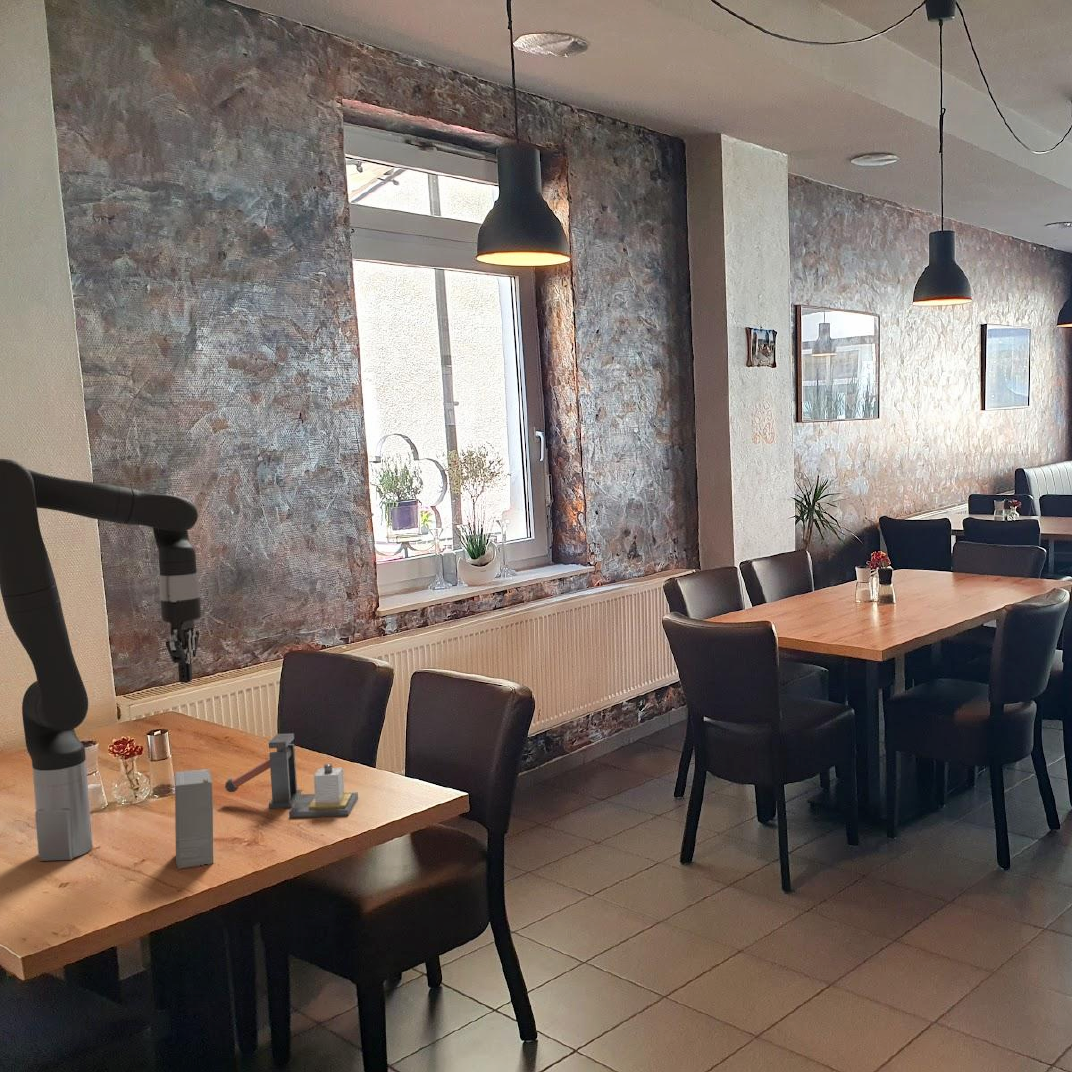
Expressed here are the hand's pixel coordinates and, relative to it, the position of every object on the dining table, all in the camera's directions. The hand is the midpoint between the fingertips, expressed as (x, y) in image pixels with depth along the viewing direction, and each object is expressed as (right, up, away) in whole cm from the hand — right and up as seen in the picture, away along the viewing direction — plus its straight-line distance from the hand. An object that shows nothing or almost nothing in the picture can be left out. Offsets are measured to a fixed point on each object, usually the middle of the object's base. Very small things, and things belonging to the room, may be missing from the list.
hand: (186, 681), depth 210 cm
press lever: (+12, -22, +13) cm, 28 cm away
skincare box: (+8, -30, -18) cm, 36 cm away
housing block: (+28, -26, +7) cm, 38 cm away
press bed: (+23, -27, +10) cm, 37 cm away
